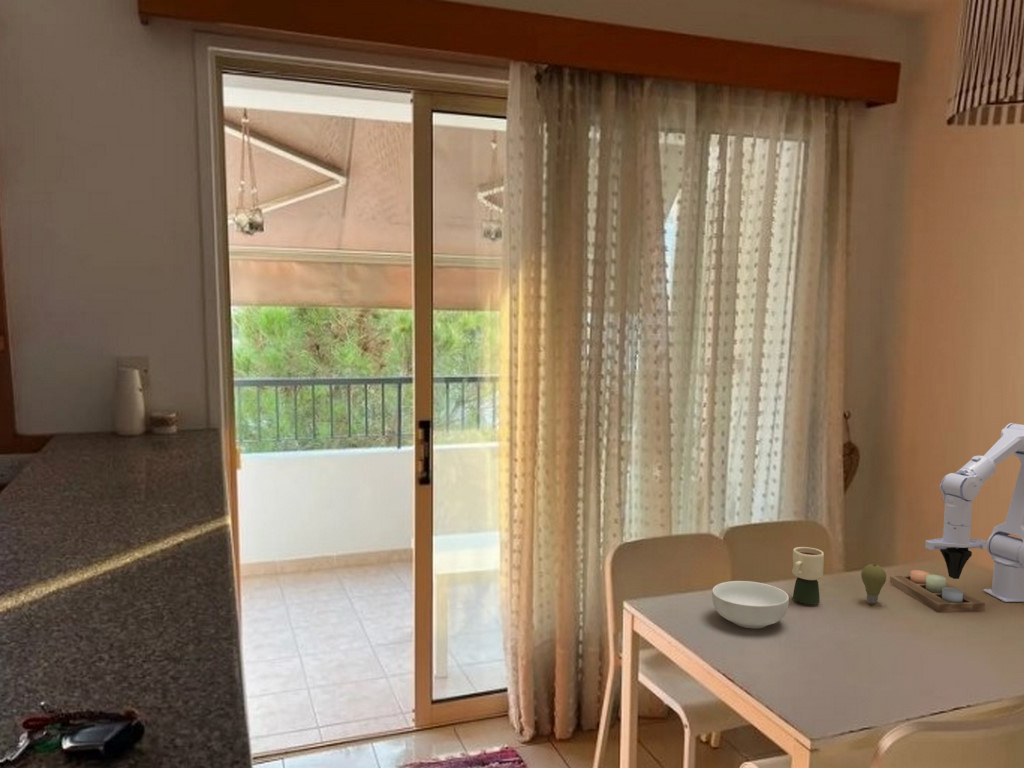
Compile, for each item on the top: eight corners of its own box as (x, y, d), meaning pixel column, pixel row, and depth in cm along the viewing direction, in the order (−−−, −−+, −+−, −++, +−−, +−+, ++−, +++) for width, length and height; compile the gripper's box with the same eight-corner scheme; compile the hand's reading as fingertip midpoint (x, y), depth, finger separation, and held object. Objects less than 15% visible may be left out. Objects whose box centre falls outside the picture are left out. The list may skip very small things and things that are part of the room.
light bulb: (887, 609, 185) (889, 569, 184) (862, 607, 186) (865, 567, 185) (881, 600, 190) (883, 561, 189) (857, 598, 191) (859, 560, 190)
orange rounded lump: (922, 582, 202) (922, 569, 202) (932, 588, 198) (933, 575, 198) (906, 582, 202) (907, 570, 202) (916, 588, 198) (917, 575, 197)
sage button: (938, 587, 196) (938, 574, 195) (949, 593, 191) (950, 580, 191) (921, 587, 195) (922, 574, 195) (932, 594, 191) (933, 580, 191)
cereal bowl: (758, 604, 187) (759, 576, 186) (803, 632, 171) (805, 601, 170) (697, 612, 181) (698, 583, 181) (738, 640, 166) (739, 609, 165)
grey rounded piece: (954, 600, 189) (955, 587, 189) (966, 607, 185) (967, 593, 185) (937, 601, 189) (938, 587, 189) (949, 608, 185) (950, 593, 184)
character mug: (804, 593, 195) (806, 543, 194) (830, 601, 189) (833, 550, 188) (780, 602, 188) (783, 551, 187) (807, 611, 182) (810, 559, 181)
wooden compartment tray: (932, 582, 204) (933, 575, 204) (984, 611, 184) (985, 603, 184) (889, 583, 203) (890, 575, 203) (937, 612, 183) (938, 604, 183)
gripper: (974, 518, 190) (970, 571, 191) (918, 519, 189) (915, 572, 190) (994, 526, 183) (990, 581, 184) (936, 527, 182) (933, 582, 183)
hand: (953, 577), depth 186 cm, fingers closed
